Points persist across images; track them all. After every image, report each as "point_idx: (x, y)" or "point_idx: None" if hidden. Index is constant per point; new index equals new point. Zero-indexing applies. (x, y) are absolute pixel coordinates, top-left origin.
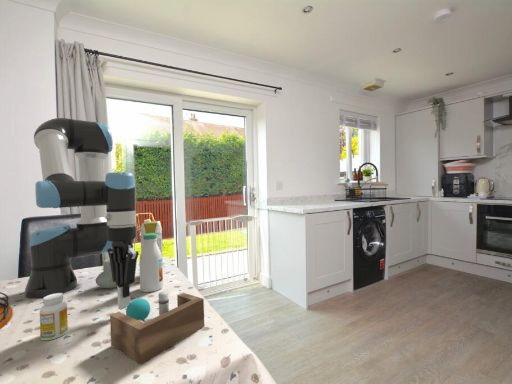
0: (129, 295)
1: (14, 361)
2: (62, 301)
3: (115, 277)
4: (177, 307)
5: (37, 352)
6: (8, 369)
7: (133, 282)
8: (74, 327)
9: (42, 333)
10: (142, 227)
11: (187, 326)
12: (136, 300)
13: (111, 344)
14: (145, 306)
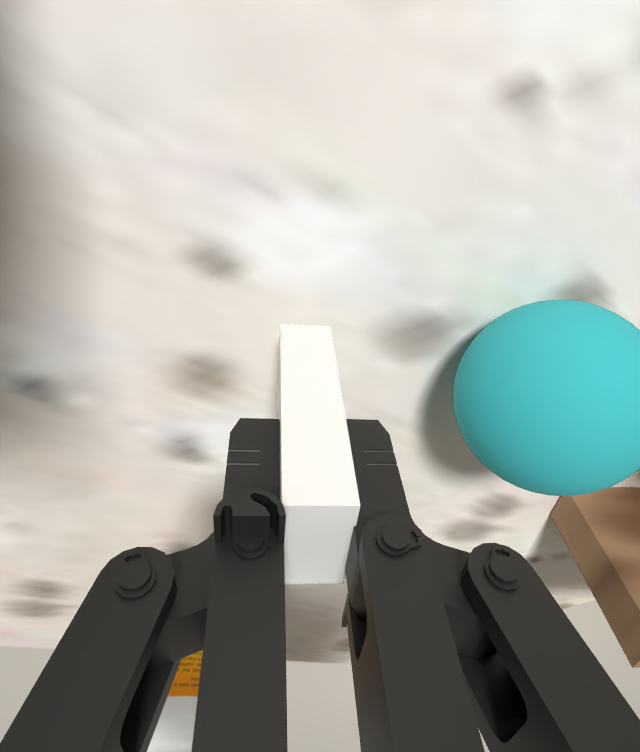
0: (381, 425)
1: (290, 650)
2: (175, 745)
3: (168, 677)
4: None
5: (298, 620)
6: (325, 658)
7: (518, 564)
8: (198, 527)
9: None
10: None
11: None
12: (600, 482)
13: (556, 519)
14: None
